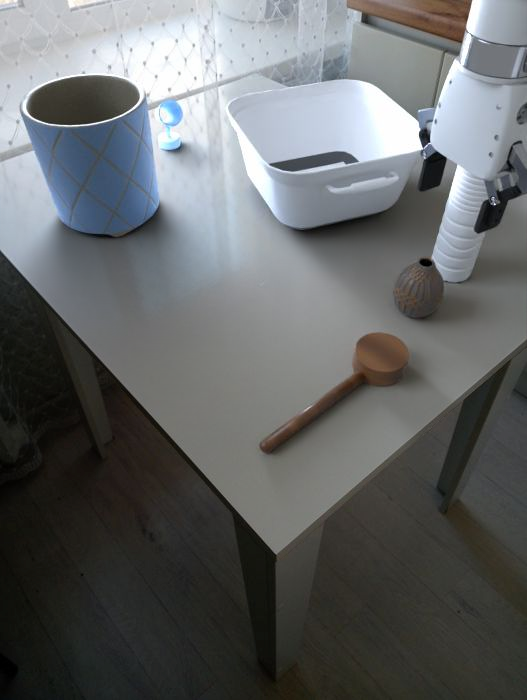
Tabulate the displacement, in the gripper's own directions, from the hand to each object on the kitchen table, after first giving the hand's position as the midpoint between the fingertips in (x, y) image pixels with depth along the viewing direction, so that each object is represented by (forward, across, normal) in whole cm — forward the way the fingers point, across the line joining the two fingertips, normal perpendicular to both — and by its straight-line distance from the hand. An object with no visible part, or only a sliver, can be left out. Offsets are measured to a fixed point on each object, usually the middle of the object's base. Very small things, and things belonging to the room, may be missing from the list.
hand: (455, 207), depth 65 cm
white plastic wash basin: (+20, +35, -5) cm, 40 cm away
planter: (+20, +50, +30) cm, 62 cm away
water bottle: (+20, +8, -13) cm, 25 cm away
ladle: (+20, -5, +18) cm, 27 cm away
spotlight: (+20, +67, +11) cm, 71 cm away
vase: (+20, +3, -1) cm, 20 cm away
